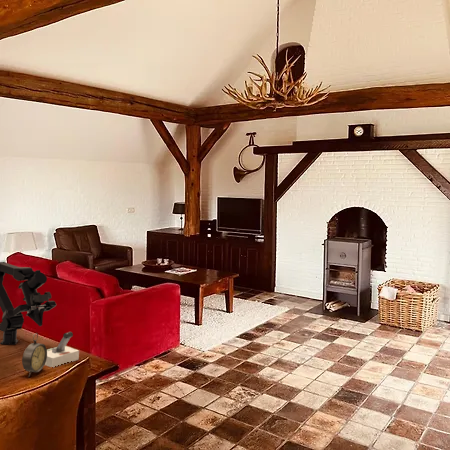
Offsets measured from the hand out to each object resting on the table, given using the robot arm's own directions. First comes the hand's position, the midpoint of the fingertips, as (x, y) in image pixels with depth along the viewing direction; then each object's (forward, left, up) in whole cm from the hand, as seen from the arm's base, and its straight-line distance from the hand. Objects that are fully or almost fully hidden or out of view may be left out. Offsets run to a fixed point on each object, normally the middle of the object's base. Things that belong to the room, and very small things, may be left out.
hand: (40, 325), depth 208 cm
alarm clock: (+22, +2, -13) cm, 26 cm away
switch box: (+7, +9, -13) cm, 17 cm away
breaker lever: (+7, +9, -9) cm, 14 cm away
